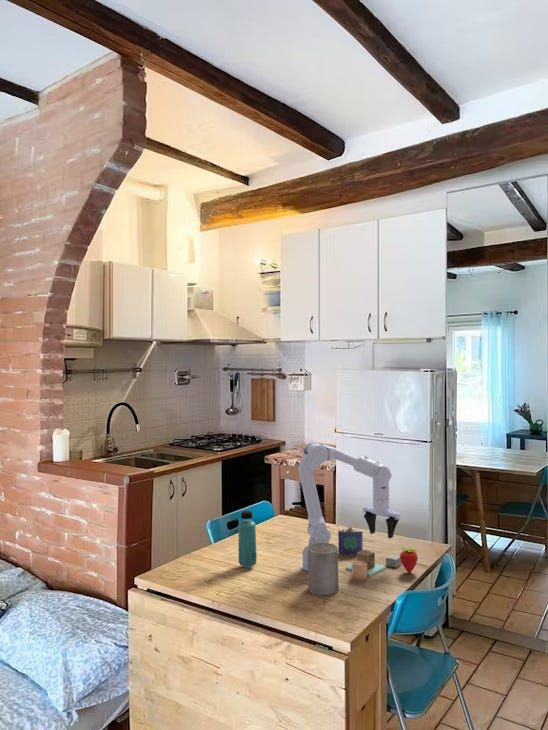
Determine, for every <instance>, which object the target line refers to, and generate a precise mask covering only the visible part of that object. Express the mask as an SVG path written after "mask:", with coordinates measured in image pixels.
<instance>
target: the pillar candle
mask: <svg viewBox="0 0 548 730" xmlns="http://www.w3.org/2000/svg"><path fill="white" fill-rule="evenodd" d="M307 546H308V545H307ZM307 572H308V573H307V575H308V576H307V577H308V580H307V581H308V583H307V584H308V591H309V593H311V594H313V595H316V596H332V595H335V594H337V593H338V592H339V588H340V587H339V586H340V583H339V552H338V546H337V545H336V544H333V543H331V542H329V543H314V544H311V545H309V546H308V571H307Z"/></svg>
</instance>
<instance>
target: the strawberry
mask: <svg viewBox="0 0 548 730" xmlns="http://www.w3.org/2000/svg"><path fill="white" fill-rule="evenodd" d="M406 545H407V546H408V547H409V548H404V547H401V548H400V549H402V551H401V552H400V554H399V556H400V560H401V565H402V566H403V568H404V570H406V572H407V573H408V574H411V573H412V571H413V570H414V569H415V567H416V565H417V562H418V557H419V556H418V553H417V552H416V551H417V549H413V548H412V547H410V546H409V545H408V543H406Z"/></svg>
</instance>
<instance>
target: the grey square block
mask: <svg viewBox="0 0 548 730" xmlns="http://www.w3.org/2000/svg"><path fill="white" fill-rule="evenodd" d="M401 565H402V563H401V560H400V555H396V554H388V556H385V566H387V567H391V568H395V569H397V568H399V567H401Z"/></svg>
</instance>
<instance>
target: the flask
mask: <svg viewBox="0 0 548 730" xmlns="http://www.w3.org/2000/svg"><path fill="white" fill-rule="evenodd" d="M353 527H354V526H353V525H349V527H348V528H342V529H339V530H338V532H337V533H338V534H337V535H338V536H337V537H338V538H337V539H338V546H337V547H338V556H339V555H340V556H357V552H360V551H362V550H364V549H363V548H364V547H363V546H364V544H363V541H364V540H363V530H361V529H354V528H353Z"/></svg>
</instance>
